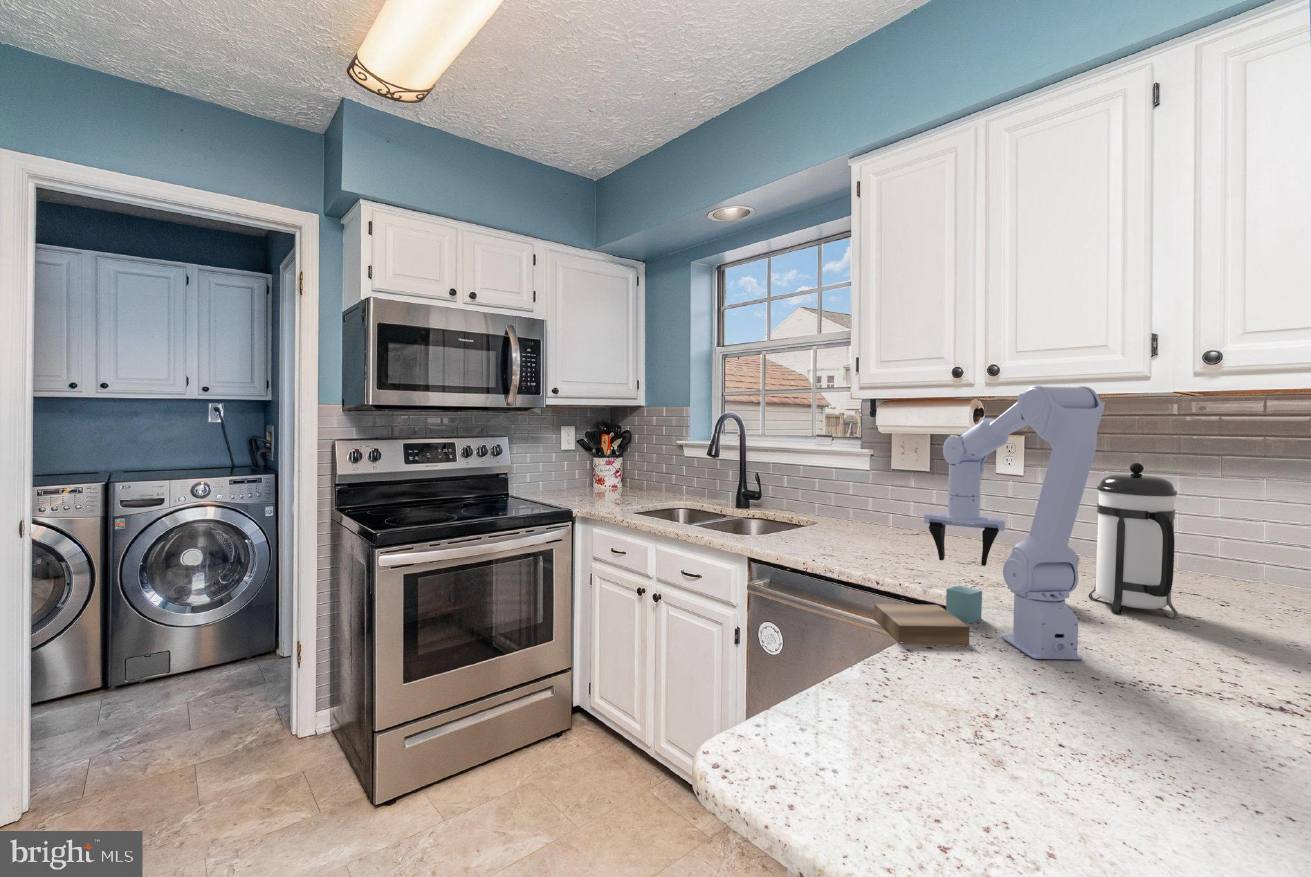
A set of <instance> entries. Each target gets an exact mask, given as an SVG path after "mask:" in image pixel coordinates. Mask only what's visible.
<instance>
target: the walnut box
mask: <svg viewBox="0 0 1311 877" xmlns="http://www.w3.org/2000/svg"><path fill="white" fill-rule="evenodd" d="M873 608H874V611H873V612H874V614H873V616H874V618H873V619H874V621H875V622H876V623H877V624H878V625H879V626H880V627H881V628H882V629H883V630H884V631H885V632H886V633H887V634H888V635H889V636H890V637H892V639H894V641H896V642H897V643H898V644H901V643H900V642H903V643H902V644H918V645H919V644H920V645H921V644H922V645H924V644H925V645H926V644H927V645H928V644H930V645H934V644H935V645H970V625H968V624H967V623H966V622H963V621H961V620H959V619H958V618H956V617H955V616H953V615H952V614H950V613H949V612H947V611H946V608H943V607H942V606H940V605H939V604H919V603H918V604H915V603H913V604H911V603H910V604H907V603H905V604H904V603H874V607H873Z"/></svg>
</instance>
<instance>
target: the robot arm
mask: <svg viewBox="0 0 1311 877" xmlns="http://www.w3.org/2000/svg"><path fill="white" fill-rule="evenodd" d="M1104 409H1105V405H1104V403H1103V402H1102V400H1101V399H1100V397H1099V395H1098V393H1097V392H1096V391H1095V389H1092V388H1091V387H1090V386H1078V387H1077V386H1075V387H1070V386H1041V385H1033V386H1030V387H1028V388H1027V389H1026V390H1025V391H1024V392H1020V393H1019V394H1018V398H1017V401H1016V402H1015V403H1014V404H1013V405H1012V406H1011V407H1009V408H1008V409H1007V410H1005V411H1004V412H1003V413H1001V414H1000V415H999V416H998V417H996V418H988V417H987V418H985V417H982V418H980V419H979V420H978V424H976V425H974V426H973V427H971V428H970V429H966V430H965V431H964V433H963V434H961V435H956V434H955V435H954V434H951V435H949V436H948V437H947V438H946V439H945V440H944V443H943V447H942V455H943V458H944V459H945V462H946V463H947V464H948V491H947V492H948V494H947V495H948V500H947V502H948V503H947V514H946V513H927V512H926V513H924V514H923V524H929V525H928V529H929V530H928V531H929V532H930V535H931V536H932V538H933V540H934V543H935V546H936V550H937V555H938V560H939V561H941V562H942V561H944V560H945V558H946V557H945V556H946V549H945V537H946V526H954V527H966V528H974V529H975V528H976V529H983V530H982V532H981V534H982V535H981V536H982V539H981V540H982V552H981V559H980V560H981V561H980V563H981V565H980V566H984V567H986V566H987V563H988V557H989V553H990V550H991V548H992V546H993V544H994V541H995V539H996V537H997V536H998V535H999V532H1005V531H1006V520H1005V519H998V518H990V517H983V516H980V515H981V514H980V512H981V510H980V509H981V474H983V472H984V470H985V463H986V461H987V460H988V456H989V454H991V453H993V452H994V451H996V450H997V449H999V448H1000V447H1002V446H1005V445H1006V444H1007V442H1008V441H1009V438H1010V437H1009V436H1010V434H1011V435H1012V433H1014V432H1017V431H1018V430H1021V429H1022V428H1024V427H1026V426H1028V425H1029V427H1030V428H1032V430H1033V431H1034V432H1035V433H1036V434H1037V435H1038V436H1039V437H1040V438H1041V439H1042V440H1043V441H1045V442H1047V443H1048V444H1049V445H1050V447H1051V454H1050V457H1049V460H1048V465H1047V469H1046V471H1045V476H1044V479H1043V482H1042V486H1041V489H1040V490H1041V491H1040V494H1039V498H1038V502H1037V504H1036V508H1035V513H1034V516H1033V520H1032V523H1031V527H1030V532H1029V533H1028V534H1029V535H1028V536H1026V537H1025V538H1024V539H1022V540H1020V542H1018V543H1017V544H1015V545H1013V546H1012V550H1011V553H1010V555H1009V557H1007V559H1005V561H1004V563H1003V567H1002V576H1003V579H1004V583H1005V584H1006V586H1007V587H1008V588H1009V590H1010V593H1012V594H1013V595H1014V596H1013V597H1014V598H1013V625H1012V627H1013V628H1012V634H1002V635H1001V638H1002V639H1003V640H1005V641H1006V642H1008V643H1009V644H1011V645H1012V646H1013V647H1015V648H1016V649H1018V650H1020V651H1021V652H1022V653H1024V654H1026V655H1027V656H1029V657H1030V658H1031V659H1035V660H1083V656H1082V654H1081V655H1080V654H1079V653H1078V644H1079V641H1078V640H1079V639H1078V638H1079V620H1078V616H1077V615H1076V613H1075V612H1074V611H1073V610H1072V609H1070V608H1069V607H1068V605H1067V604H1066V599H1069V598H1070V593H1071V592H1073V591H1074V590H1075V589H1077V586H1078V583H1079V569H1078V568H1079V567H1078V566H1079V563H1080V556H1079V555H1078V554H1077V553H1076V551H1074V549H1072V548H1071V547H1070V546H1069V542H1070V539H1071V536H1072V531H1073V530H1074V526H1075V521H1076V518H1077V514H1078V511H1079V509H1080V505H1081V502H1082V498H1083V495H1084V492H1085V488H1086V484H1087V480H1088V478H1089V474H1090V470H1091V468H1092V463H1093V460H1094V457H1095V454H1096V450H1097V446H1098V429H1099V426H1100V423H1101V419H1102V415H1103V412H1104Z"/></svg>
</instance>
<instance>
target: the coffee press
mask: <svg viewBox="0 0 1311 877" xmlns="http://www.w3.org/2000/svg"><path fill="white" fill-rule="evenodd" d="M1128 468H1129V471H1130V472H1131V474H1112V475H1108V476H1106V477H1103V478H1102V479H1101V480H1100V483H1099V485H1097V486H1096V490H1097V492H1098V503H1097V504H1096V507H1097V508H1096V512H1097V513H1098V514H1097V533H1096V535H1097V536H1096V539H1097V540H1096V558H1095V559H1096V562H1095V579H1094V580H1095V583H1094V588H1093V589H1092V591H1091V592H1089V594H1088V599H1089V600H1091V601H1095V600H1099V599H1102V600H1104V601H1106V602H1109V603H1111V609H1110V610H1111V614H1117V615H1122V613H1123V611H1124V609H1125V608H1126V607H1128V608H1134V609H1135V608H1136V609H1145V610H1158V611H1160V612H1161V613H1162V614H1164V615H1165V617H1167V618H1168V619H1174V618H1177V617H1178V616H1179V612H1178V611H1177V610H1176V608H1175V607H1174V605H1173V603H1172V587H1173V583H1174V582H1173V581H1174V567H1175V565H1174V564H1175V531H1174V530H1175V522H1174V520H1175V519H1176V509H1175V498H1176V497H1177V495H1178V491H1177V489H1176V490H1175V487H1174V485H1173V483H1172V482H1171V481H1170V480H1167V479H1166V478H1162V477H1159V476H1152V475H1143V474H1142V472H1143V471H1144V469H1145V468H1144V466H1143V464H1141V463H1140V462H1134V463H1132V464H1131V465H1130V466H1129V467H1128ZM1094 593H1096V595H1097V596H1098V597H1096V598H1095V597H1094V596H1093V594H1094ZM1167 606H1168V607H1169V609H1170V610H1171V611H1172V613H1173V614H1174V615H1173V616H1172V615H1171V614H1170V613H1169V612H1168V611H1167V610H1166V609H1164V608H1166V607H1167Z"/></svg>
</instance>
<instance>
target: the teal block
mask: <svg viewBox="0 0 1311 877" xmlns="http://www.w3.org/2000/svg"><path fill="white" fill-rule="evenodd" d="M945 599H946V601H945V602H946V603H945V610H946V611H947V612H949V613H950V614H952V615H953V616H955V617H956V618H958V619H959V620H961V621H962V622H964V623H966V624H967V623H968V624H969V623H973V622H976V621H979V620H981V619H982V610H983V609H982V606H983V602H982V600H983V590H980V589H976V588H972V587H968V586H965V585H960V584H959V585H955V586H951V587H948V588H946V598H945Z"/></svg>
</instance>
